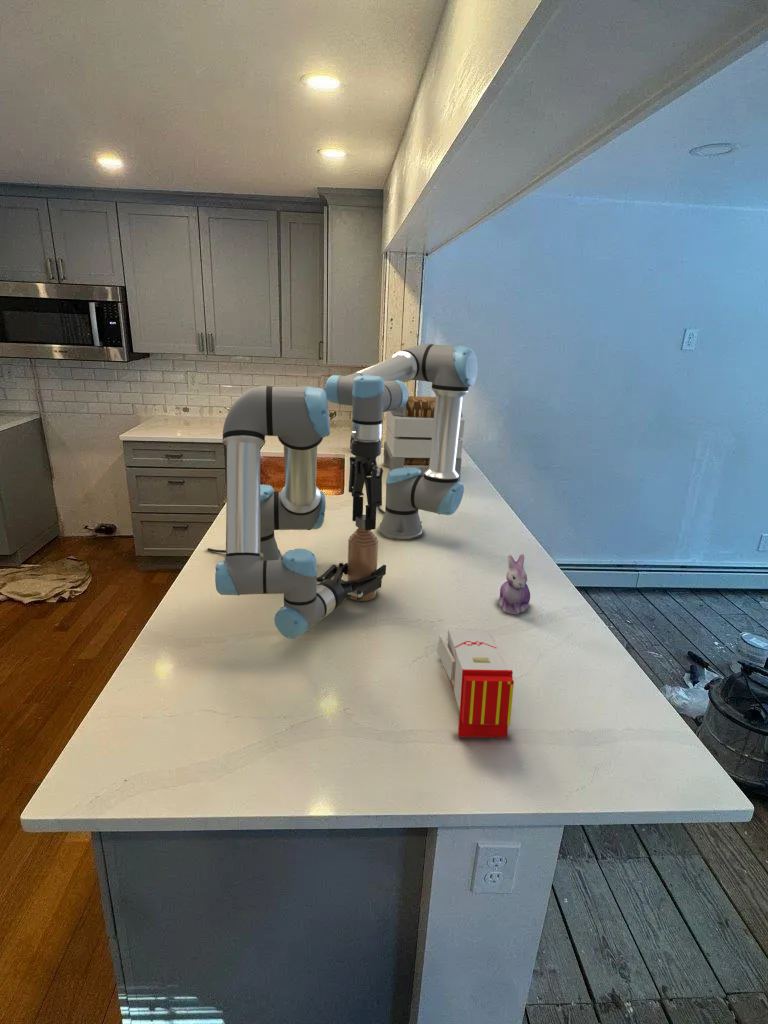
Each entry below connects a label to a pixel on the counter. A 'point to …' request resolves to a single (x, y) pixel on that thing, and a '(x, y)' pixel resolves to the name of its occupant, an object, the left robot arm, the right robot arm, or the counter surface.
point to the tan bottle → (362, 557)
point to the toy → (478, 682)
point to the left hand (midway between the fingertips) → (371, 565)
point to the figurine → (515, 588)
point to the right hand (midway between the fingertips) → (363, 524)
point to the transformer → (413, 434)
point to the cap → (360, 521)
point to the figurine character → (351, 441)
